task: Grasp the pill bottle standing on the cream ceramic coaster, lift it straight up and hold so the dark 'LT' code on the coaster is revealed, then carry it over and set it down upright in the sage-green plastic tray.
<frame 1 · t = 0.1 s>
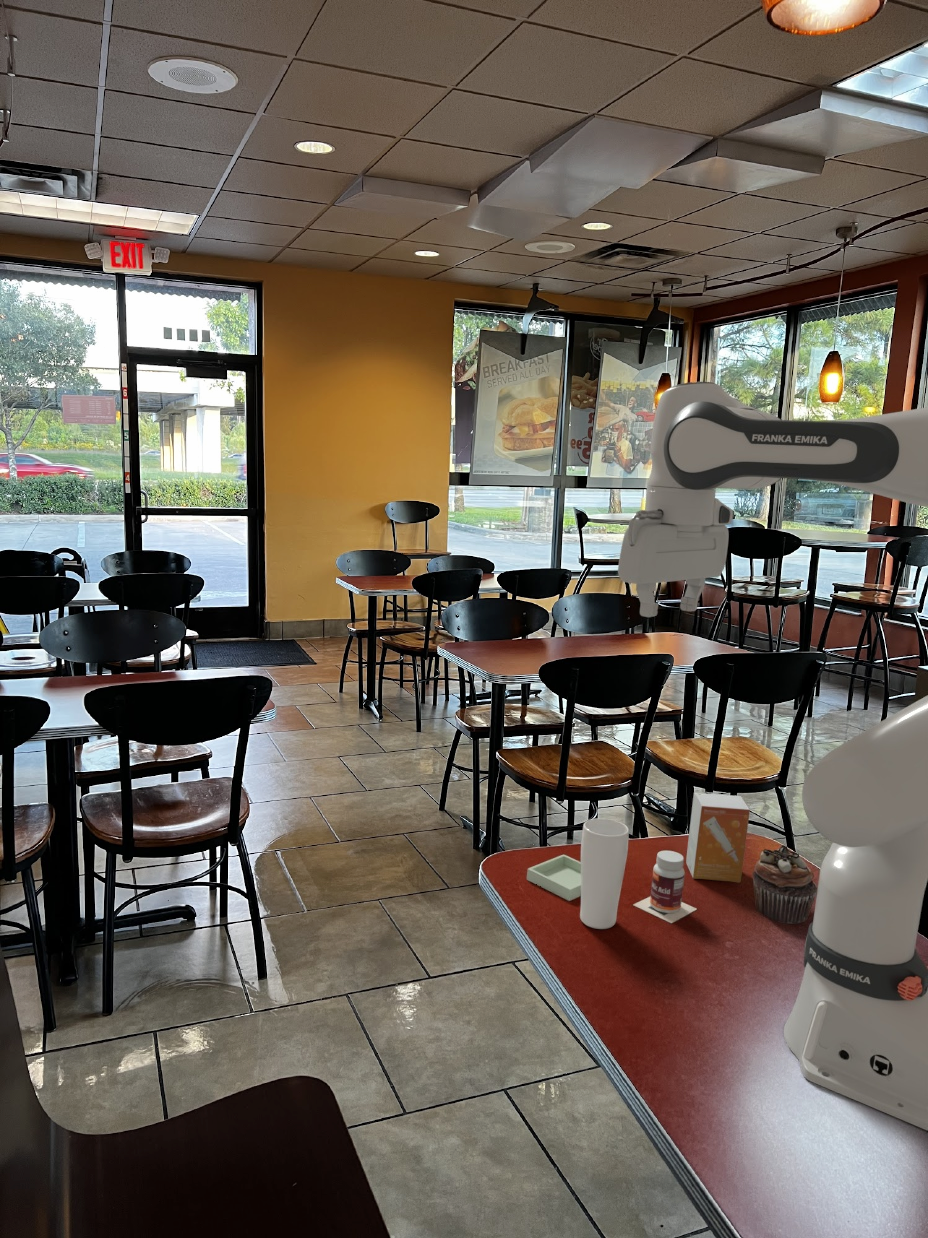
hand: (668, 613, 123), 48 cm above the table, fingers open, 8 cm apart
code coaster: (665, 907, 142), on the table
small box: (712, 874, 155), on the table
sage tray: (565, 882, 149), on the table
drinking glass: (597, 923, 137), on the table
cupcake: (781, 912, 143), on the table
pill bottle: (665, 907, 142), resting on code coaster
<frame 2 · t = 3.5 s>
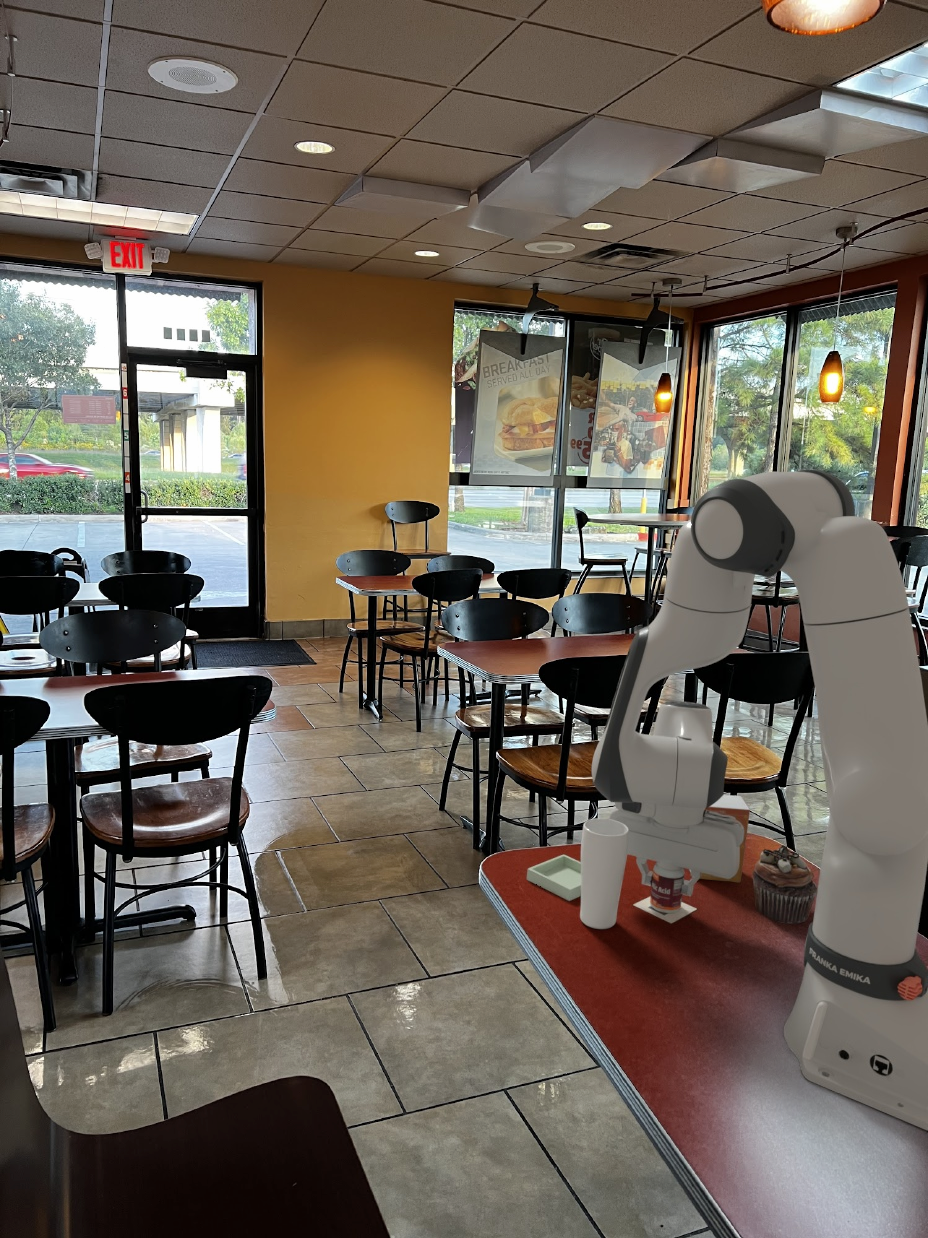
hand: (666, 889, 142), 3 cm above the table, fingers closed on pill bottle, 5 cm apart
pill bottle: (665, 907, 142), resting on code coaster, touching gripper
everything else where it was.
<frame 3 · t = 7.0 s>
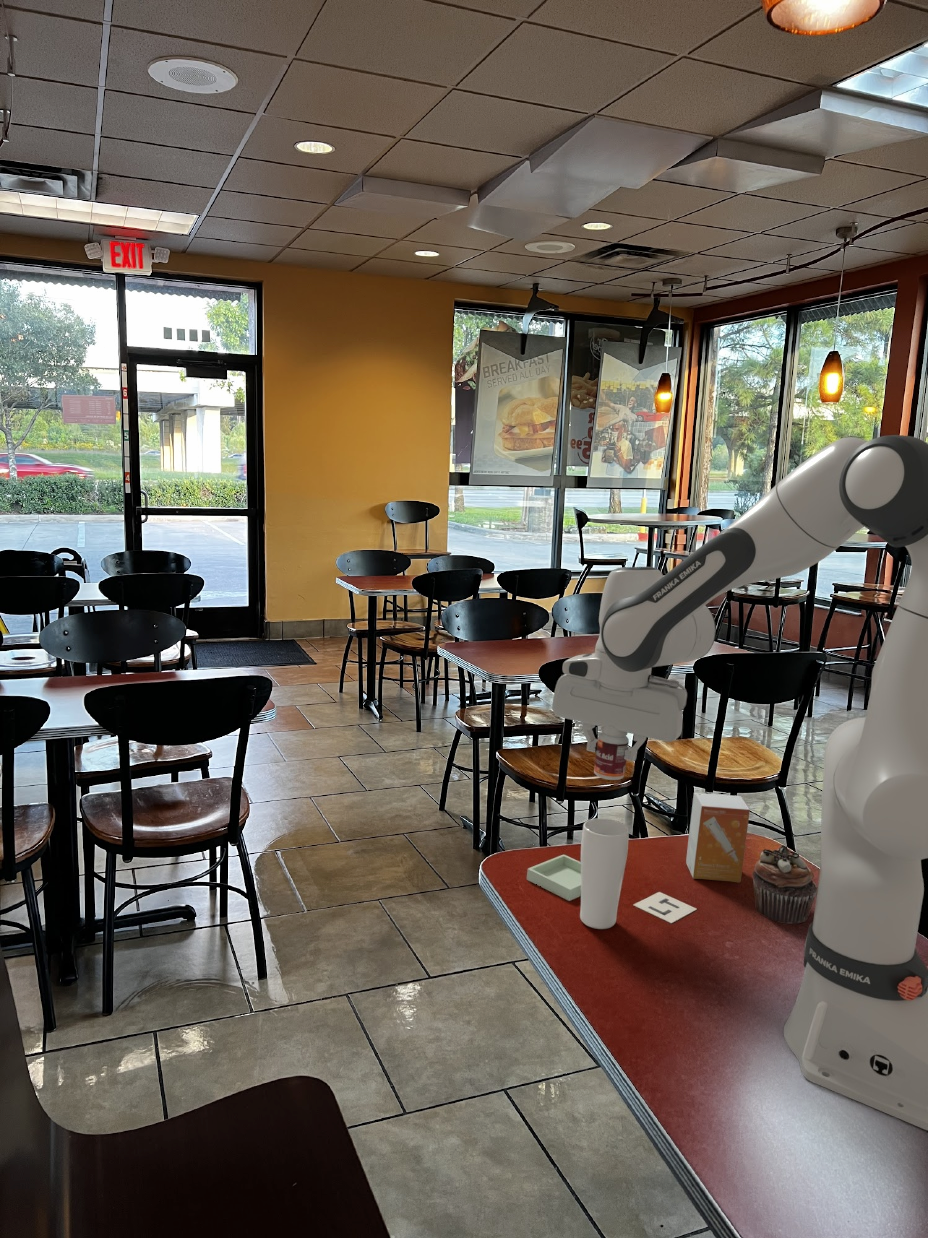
hand: (610, 755, 143), 22 cm above the table, fingers closed on pill bottle, 5 cm apart
pill bottle: (608, 776, 144), point 19 cm above the table, touching gripper
everything else where it was.
when the fingers open (5 cm above the table, at t = 10.4 s): pill bottle stays where it is, resting on sage tray.
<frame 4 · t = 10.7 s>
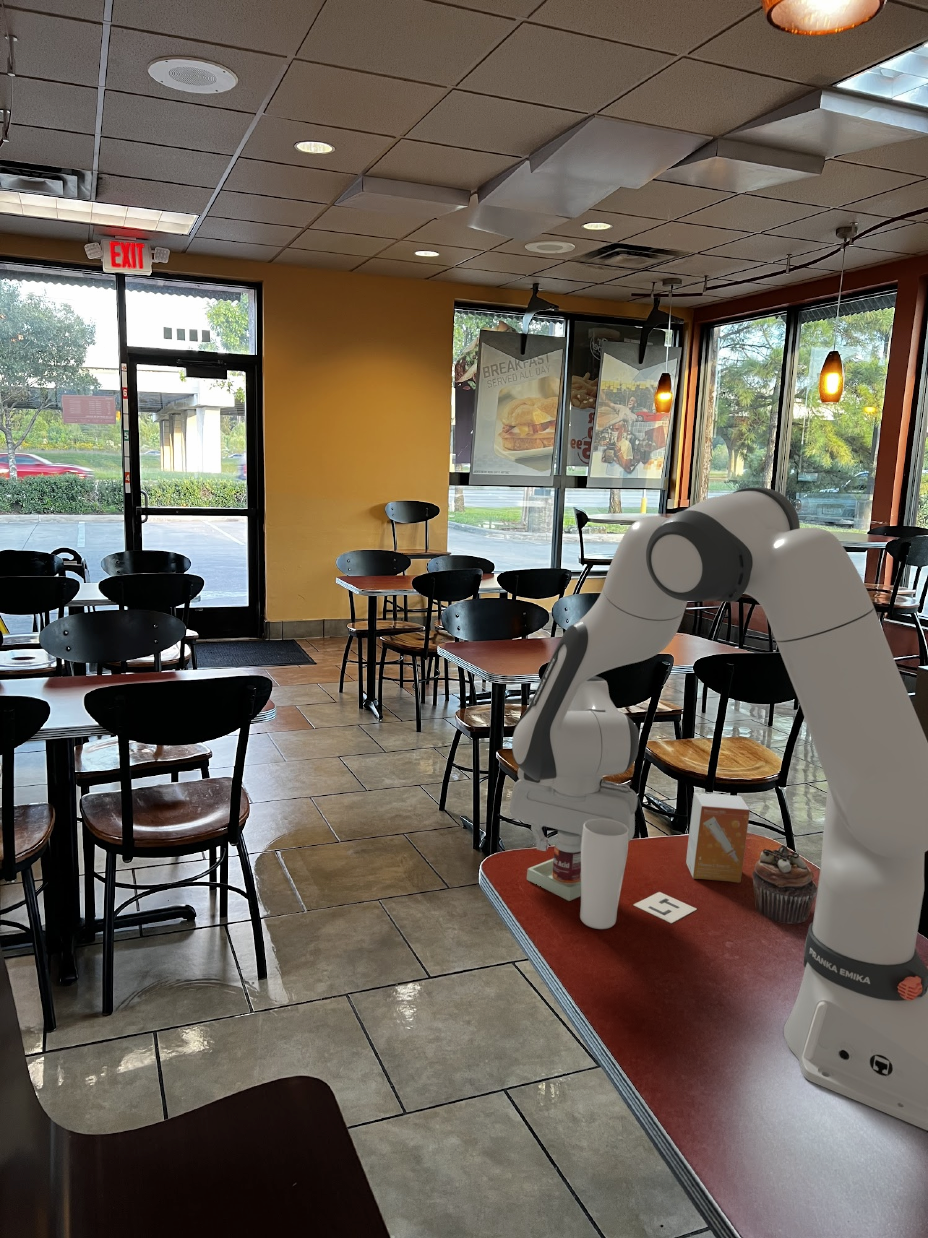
hand: (568, 856, 148), 5 cm above the table, fingers open, 8 cm apart
pill bottle: (566, 881, 148), resting on sage tray
everything else where it was.
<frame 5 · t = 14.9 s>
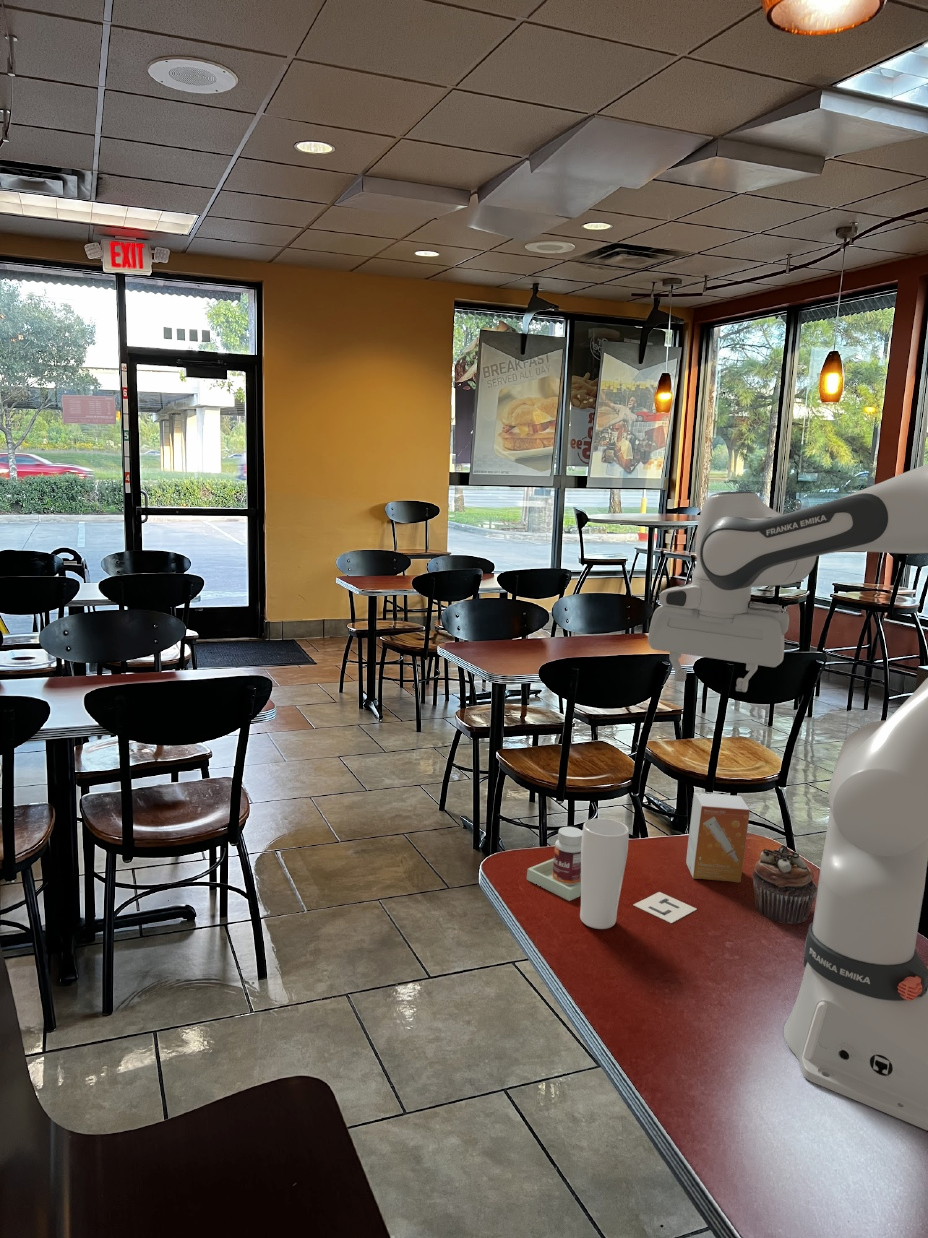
hand: (710, 685, 142), 34 cm above the table, fingers open, 8 cm apart
nothing on the table moved.
at the end: pill bottle inside the target area on the sage tray (0.1 cm from its centre), point 0.2 cm above the sage tray's base; pill bottle tilted 0°; the gripper is holding nothing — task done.
